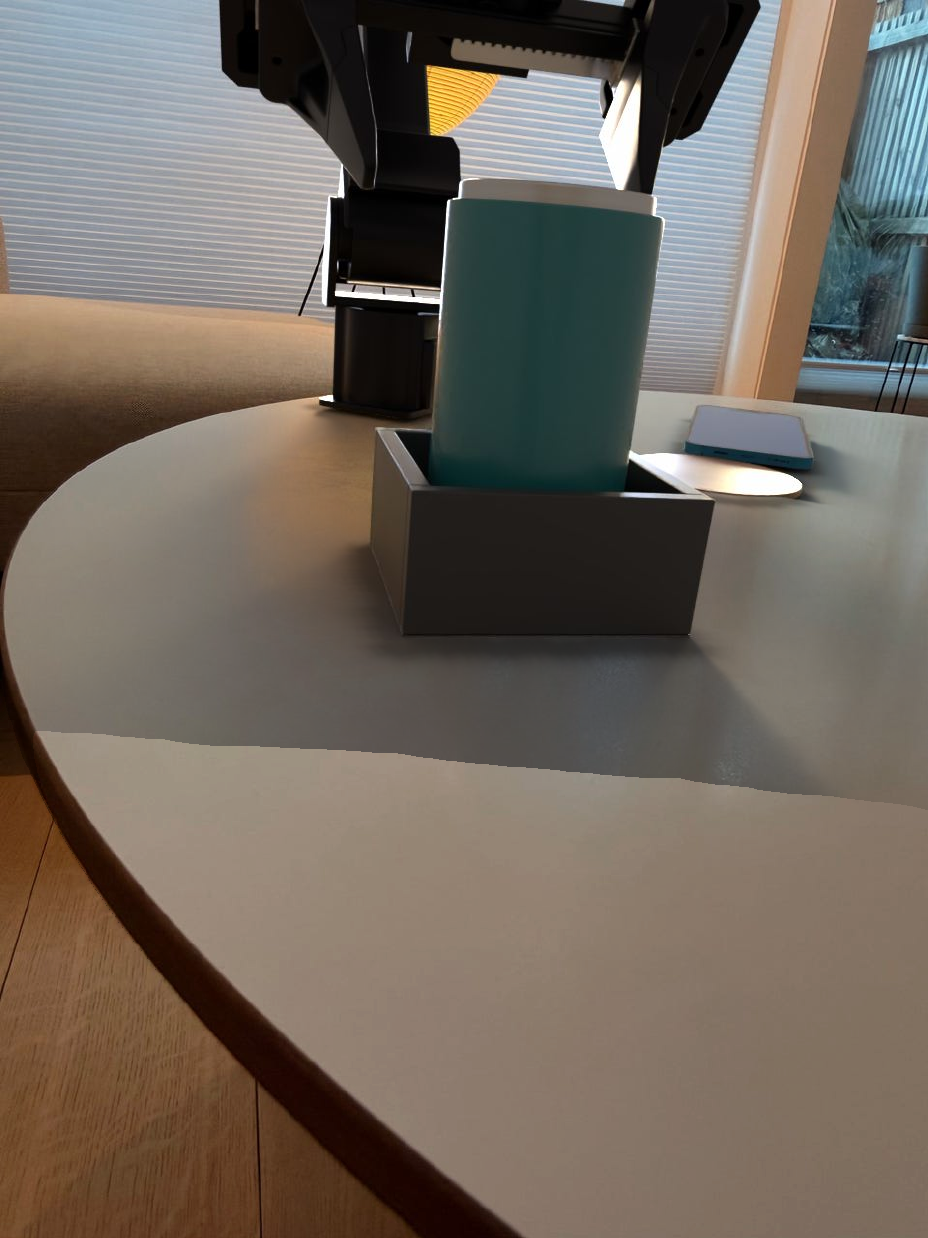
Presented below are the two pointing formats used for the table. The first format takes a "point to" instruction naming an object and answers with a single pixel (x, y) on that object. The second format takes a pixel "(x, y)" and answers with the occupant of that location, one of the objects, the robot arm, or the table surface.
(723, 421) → the smartphone
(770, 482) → the coaster
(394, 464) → the box
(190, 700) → the table surface
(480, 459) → the can
